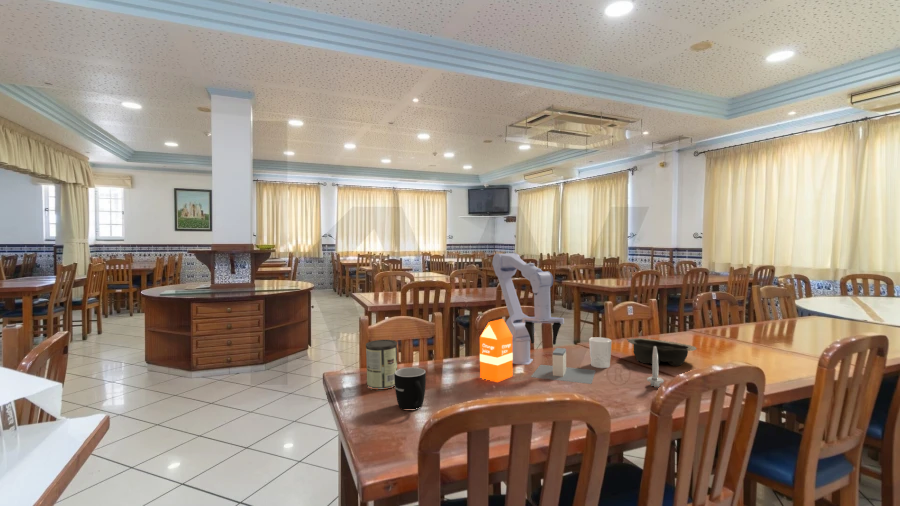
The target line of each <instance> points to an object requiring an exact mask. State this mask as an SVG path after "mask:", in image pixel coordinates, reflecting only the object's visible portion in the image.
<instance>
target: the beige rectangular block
mask: <svg viewBox="0 0 900 506" xmlns="http://www.w3.org/2000/svg"><path fill="white" fill-rule="evenodd" d="M552 366H553V375H554V376H564V374H565V372H566V367H567V348H562V347H556V348H554V350H553V352H552Z"/></svg>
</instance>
